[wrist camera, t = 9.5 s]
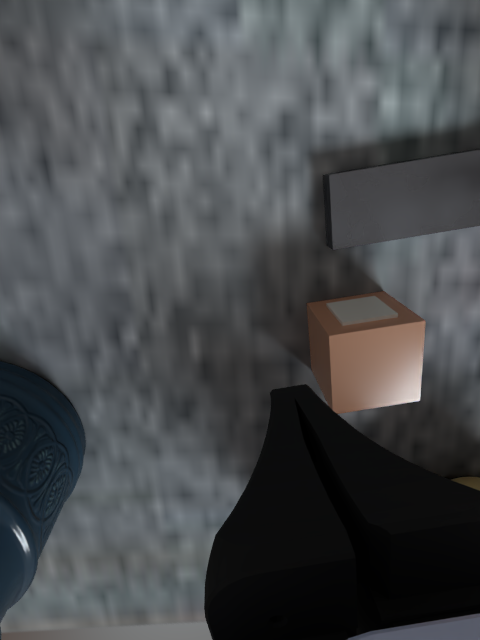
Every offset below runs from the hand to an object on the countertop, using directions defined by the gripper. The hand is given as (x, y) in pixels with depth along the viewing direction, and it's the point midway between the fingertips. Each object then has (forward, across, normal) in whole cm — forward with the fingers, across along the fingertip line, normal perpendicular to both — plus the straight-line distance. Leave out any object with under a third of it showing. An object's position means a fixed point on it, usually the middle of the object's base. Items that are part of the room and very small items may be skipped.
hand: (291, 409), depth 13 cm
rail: (+10, -17, -5) cm, 20 cm away
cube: (+10, -6, +3) cm, 12 cm away
